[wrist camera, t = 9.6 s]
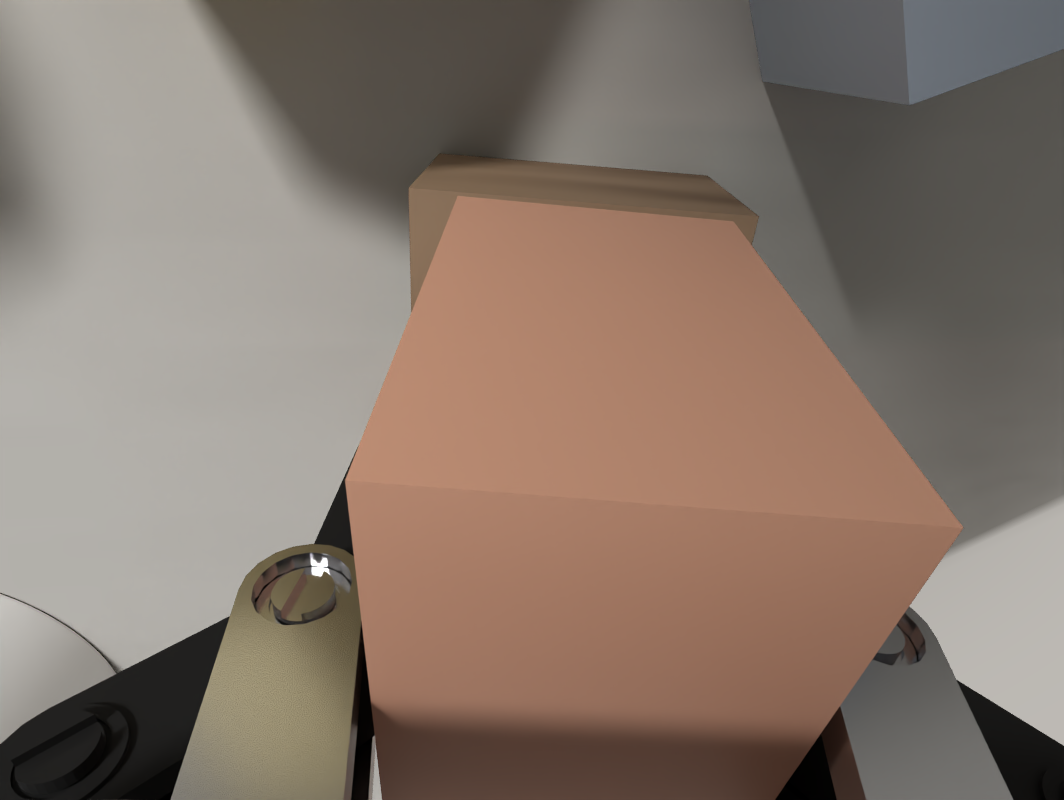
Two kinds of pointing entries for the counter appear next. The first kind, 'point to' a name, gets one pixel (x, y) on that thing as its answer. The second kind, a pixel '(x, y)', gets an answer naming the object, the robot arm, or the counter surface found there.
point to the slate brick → (900, 43)
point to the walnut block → (556, 196)
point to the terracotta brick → (620, 517)
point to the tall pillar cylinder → (40, 664)
